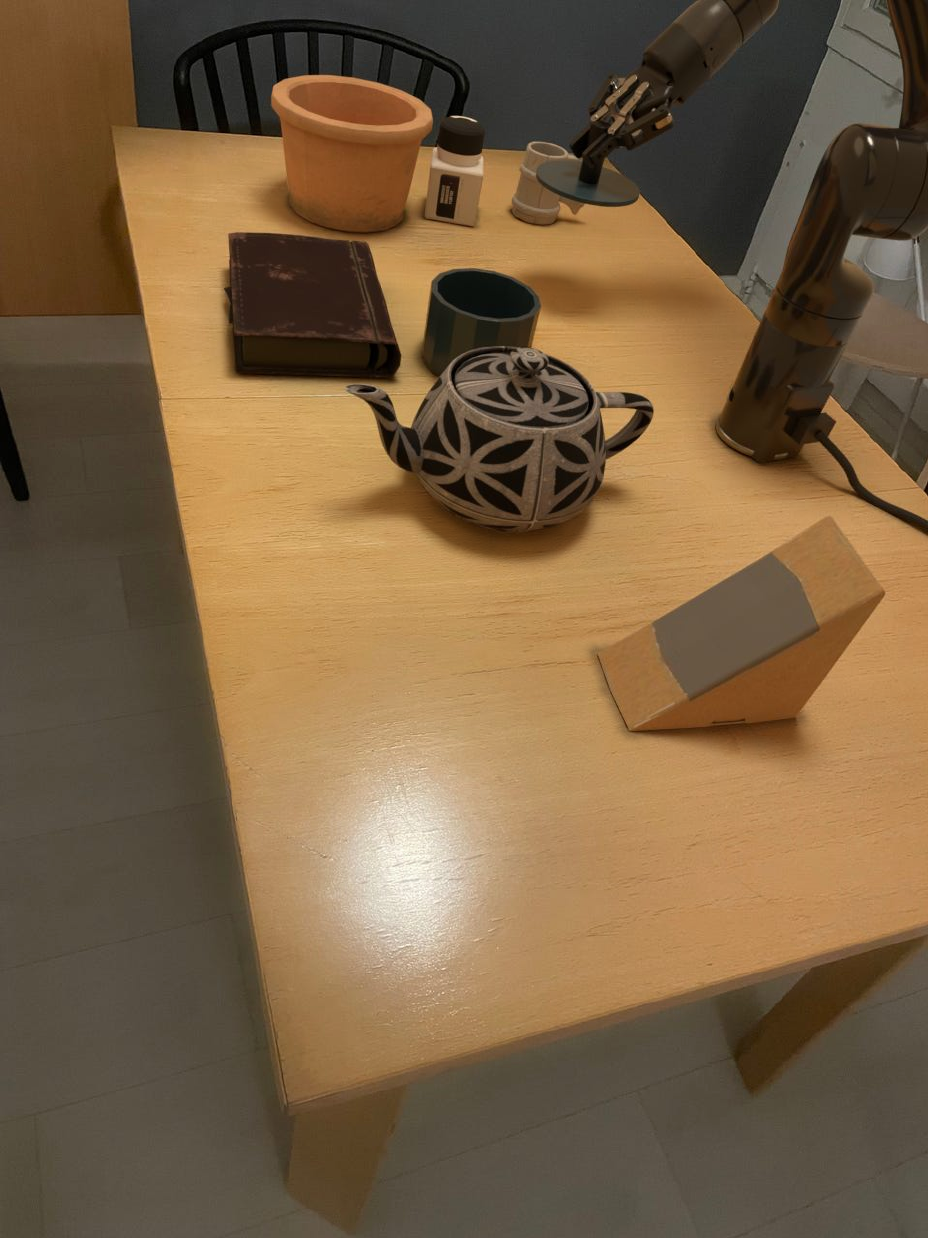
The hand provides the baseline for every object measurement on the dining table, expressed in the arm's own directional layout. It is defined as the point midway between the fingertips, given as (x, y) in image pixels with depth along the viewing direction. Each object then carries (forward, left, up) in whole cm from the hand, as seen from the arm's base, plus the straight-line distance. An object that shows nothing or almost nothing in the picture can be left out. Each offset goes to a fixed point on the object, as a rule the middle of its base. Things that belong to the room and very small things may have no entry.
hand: (580, 156), depth 108 cm
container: (+26, +3, -18) cm, 32 cm away
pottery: (+28, +19, -18) cm, 38 cm away
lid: (0, -2, -3) cm, 4 cm away
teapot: (-38, +27, -18) cm, 50 cm away
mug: (+24, -13, -18) cm, 32 cm away
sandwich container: (-66, +21, -18) cm, 72 cm away
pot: (-15, +18, -18) cm, 30 cm away
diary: (-3, +35, -18) cm, 40 cm away
